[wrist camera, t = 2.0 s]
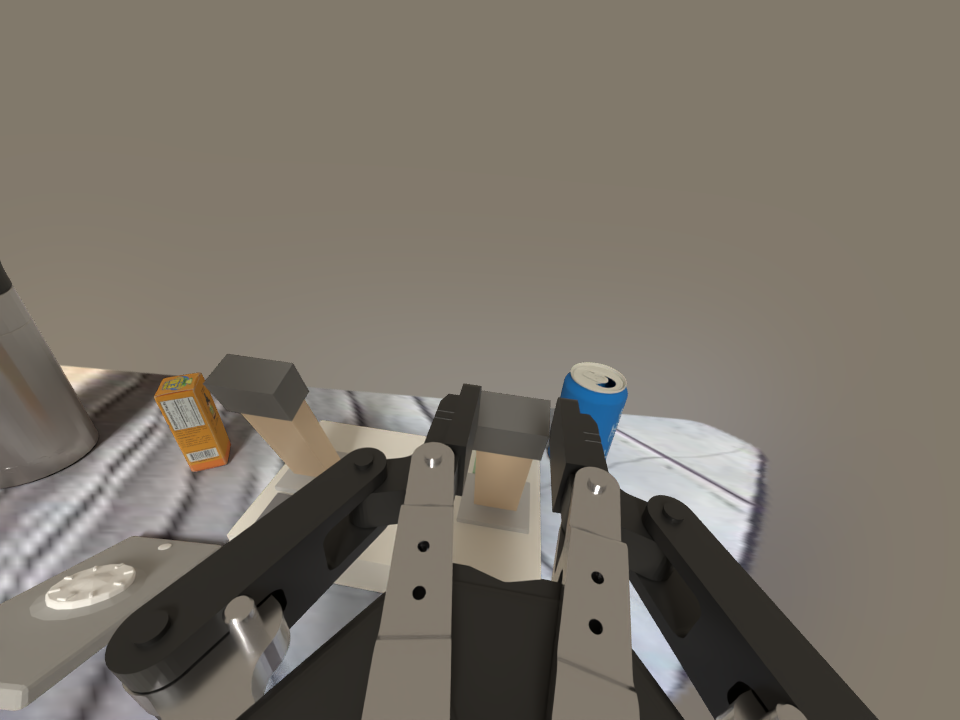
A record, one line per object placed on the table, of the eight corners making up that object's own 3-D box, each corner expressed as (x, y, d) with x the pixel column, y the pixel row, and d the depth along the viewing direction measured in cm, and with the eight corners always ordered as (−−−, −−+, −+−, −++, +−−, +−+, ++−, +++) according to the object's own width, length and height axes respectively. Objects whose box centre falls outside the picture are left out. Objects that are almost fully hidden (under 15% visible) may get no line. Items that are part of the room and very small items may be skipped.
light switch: (224, 534, 30) (22, 674, 17) (219, 597, 30) (14, 785, 17) (133, 525, 30) (-138, 657, 17) (128, 588, 30) (-145, 767, 17)
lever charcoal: (336, 484, 31) (272, 394, 21) (288, 476, 32) (202, 383, 21) (347, 458, 33) (292, 363, 22) (301, 450, 33) (227, 353, 23)
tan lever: (520, 515, 30) (549, 436, 20) (468, 506, 30) (469, 424, 20) (522, 487, 32) (550, 400, 21) (473, 479, 32) (476, 389, 22)
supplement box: (194, 452, 39) (162, 375, 34) (232, 445, 41) (205, 369, 36) (187, 475, 37) (151, 394, 32) (227, 466, 38) (198, 388, 33)
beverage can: (585, 492, 39) (615, 402, 33) (536, 460, 43) (554, 374, 37) (611, 461, 43) (641, 377, 37) (564, 434, 47) (585, 354, 41)
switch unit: (532, 621, 28) (542, 589, 25) (239, 565, 30) (224, 530, 27) (533, 480, 40) (540, 450, 38) (326, 447, 42) (320, 416, 39)
